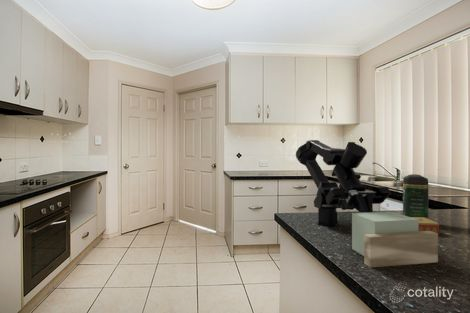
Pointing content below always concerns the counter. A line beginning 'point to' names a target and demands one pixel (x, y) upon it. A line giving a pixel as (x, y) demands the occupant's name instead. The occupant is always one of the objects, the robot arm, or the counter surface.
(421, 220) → the carton
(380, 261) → the board
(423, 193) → the coffee jar
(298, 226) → the counter surface
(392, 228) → the block
